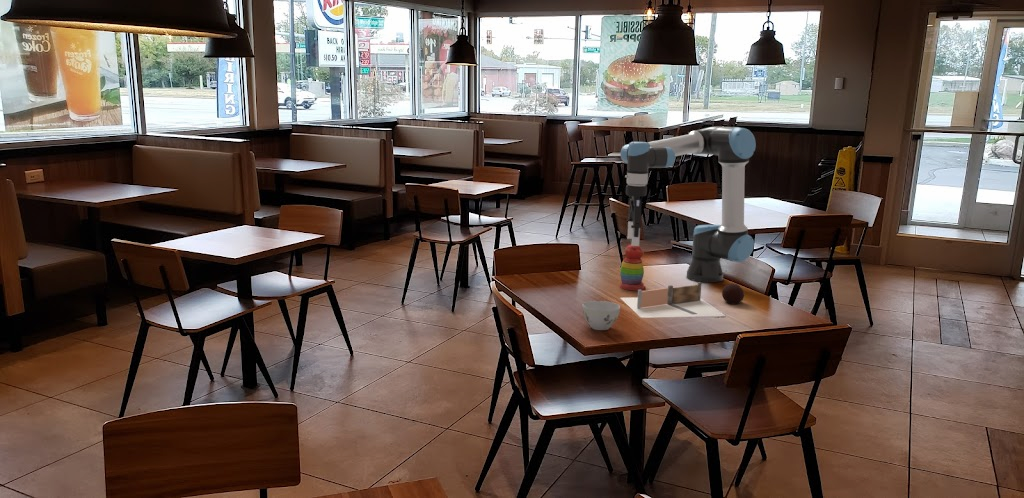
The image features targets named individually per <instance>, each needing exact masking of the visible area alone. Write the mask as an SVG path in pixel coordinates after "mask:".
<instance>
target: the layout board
mask: <svg viewBox="0 0 1024 498" xmlns="http://www.w3.org/2000/svg"><path fill="white" fill-rule="evenodd" d="M620 300H622V302H624V303H625V304H626V305H627V306H628V307H629V308H630V309H631V310H632V311H633V312H634V313H635V314H636V315H637V316H638V317H639V318H640V319H647V318H649V319H652V318H653V319H654V318H659V319H660V318H691V317H694V318H695V317H696V318H697V317H698V318H699V317H702V318H703V317H704V318H705V317H714V318H715V319H716V318H717V319H719V318H720V319H721V318H727V316H726V315H725V314H724V313H723V312H722V311H720V310H718V309H717V308H715V307H714V306H713V305H711V304H710V303H708V302H706V301H705V300H704V299H702V298H701V297H700V300H696V301H689V302H682V303H675V304H673V303H672V304H671V305H669V304H664V305H657V306H650V307H643V308H637V301H638V296H636V297H620Z"/></svg>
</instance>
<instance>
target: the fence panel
mask: <svg viewBox="0 0 1024 498" xmlns="http://www.w3.org/2000/svg"><path fill="white" fill-rule="evenodd" d="M667 296H668V287H662V288H655V289H648V290H647V289H646V290H643V291H642V290H638V291H637V297H638V301H637V308H643V307H650V306H657V305H664V304H667Z"/></svg>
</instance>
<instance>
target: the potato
mask: <svg viewBox="0 0 1024 498" xmlns="http://www.w3.org/2000/svg"><path fill="white" fill-rule="evenodd" d="M721 296H722V298H723V300H724V301H725V302H727V303H728V304H731V305H738V304H740V303H741V302H743V300H744V298H745V293H744V290H743V288H742V287H741V286H740V285H739V284H737V283H728V284H727V285H725V286H724V287H722V291H721Z"/></svg>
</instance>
